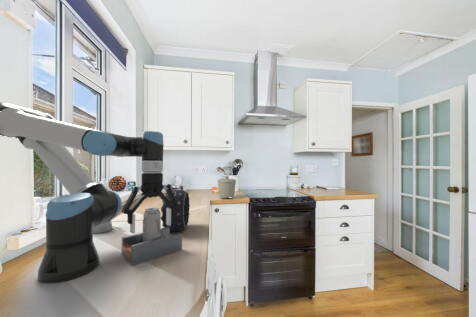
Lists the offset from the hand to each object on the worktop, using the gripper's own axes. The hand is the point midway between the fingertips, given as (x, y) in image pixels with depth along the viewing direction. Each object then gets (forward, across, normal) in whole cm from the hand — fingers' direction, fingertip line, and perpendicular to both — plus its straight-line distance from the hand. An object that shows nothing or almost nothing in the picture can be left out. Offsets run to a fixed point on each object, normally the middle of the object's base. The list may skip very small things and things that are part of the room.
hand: (151, 228), depth 81 cm
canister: (+9, +98, +70) cm, 121 cm away
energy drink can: (+8, 0, 0) cm, 8 cm away
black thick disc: (+9, +20, +18) cm, 28 cm away
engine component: (+10, -8, +45) cm, 46 cm away
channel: (+9, 0, 0) cm, 9 cm away
